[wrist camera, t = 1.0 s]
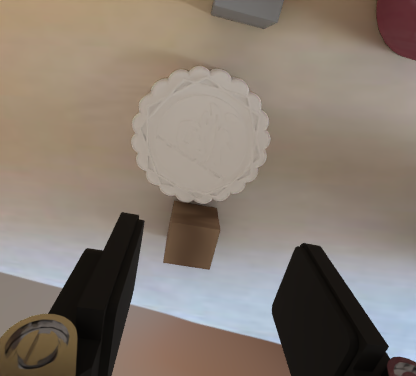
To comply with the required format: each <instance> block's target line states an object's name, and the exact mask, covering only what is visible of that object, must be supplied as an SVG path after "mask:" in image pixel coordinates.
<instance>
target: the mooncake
mask: <svg viewBox="0 0 416 376" xmlns="http://www.w3.org/2000/svg"><path fill="white" fill-rule="evenodd" d="M261 107H262V103H261V99H260V97H259V96H258V95H257V94H255V93H253V92H251V91H249V88H248V85H247V83H246V82H245V81H244V80H242V79H240V78H237V77H231V76H230V74H229V73H228V72H227V71H225V70H223V69H219V68H215V69H212V70H210V71H209V70H208V69H207V68H206V67H204V66H195V67H193V68H192V69H191V70H190V71H187V70H185V69H178V70H176V71H174V72H173V73H171V75H170V76H169V78H163V79H160V80H159V81H157V82H155V83H154V85H153V86H152V88H151V92H150V93H148V94H147V95H145V96H144V97H143V98H142V99H141V100H140V102H139V113H137V114H136V115H135V116H134V118H133V120H132V128H133V130H134V132H135V134H134V135H133V137H132V139H131V145H132V148H133V149H134V150H135V151H136V152H137V153H138V154H137V156H136V162H137V165H138V166H139V168H141V169H142V170H144V171H146V178H147V180H148V181H149V182H150V183H151V184H153V185H157V186H159V188H160V190H161V192H162V193H163V194H165V195H167V196H175V195H176V197H177V199H178V200H180V201H182V202H191V201H193V200H194V201H195V202H197V203H199V204H207V203H209V202H210V201H211V200H212V199H213V200H215V201H223V200H225V199H227V198H228V197H229V195H230V194H237V193H240V192H241V191H242V190H243V189H244V188H245V185H246V183H248V182H251V181H253V180H254V179H255V178H256V177H257V175H258V167H261V166H262V165H263V164H264V163H265V161H266V159H267V154H266V151H265V149H266V148H267V147H268V146H269V144H270V141H271V137H270V134H269V132H268V131H267V130H266V129H267V127H268V125H269V118H268V115H267V114H266V113H265V112H264V111H263V110H261Z"/></svg>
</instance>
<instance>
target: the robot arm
mask: <svg viewBox="0 0 416 376" xmlns="http://www.w3.org/2000/svg"><path fill="white" fill-rule="evenodd" d="M144 222H145V221H144V220H139V215H135V214H129V213H124V212H122V213H121V215H120V217H119V219H118V221H117V223H116V225H115V227H114V229H113V231H112V234H111V236H110V238H109V240H108V242H107V244H106V246H105V248H104V250H103V251H102V250H96V249H89V248H87V249H85V251H84V252H83V254H82V256H81V257H80V259H79V261H78V263H77V264H76V266H75V268H74V270H73V271H72V273H71V275H70V277H69V278H68V280H67V282H66V284H65V285H64V287H63V289H62V291H61V292H60V294H59V296H58V298H57V299H56V301H55V303H54V305H53V306H52V308H51V310H50V312H49V313H48V314H40V315H35V316H31V317H29V318H26V319H24V320H21V321H20V322H18V323H16V324H15V325H13V326H12V327H10V328H9V329H8V330H7V331H6V332H5V333H4V334H3V336H2V337H1V338H0V376H111V375H112V372H113V368H114V364H115V360H116V356H117V352H118V349H119V345H120V341H121V337H122V333H123V329H124V326H125V322H126V318H127V314H128V310H129V306H130V303H131V299H132V295H133V290H134V285H135V279H136V273H137V266H138V260H139V254H140V248H141V241H142V235H143V229H144ZM272 315H273V319H274V322H275V325H276V328H277V331H278V335H279V338H280V341H281V344H282V348H283V351H284V354H285V357H286V360H287V364H288V367H289V370H290V374H291V376H416V362H414V361H412V360H410V359H407V358H403V357H393V358H391V359H390V358H389V356H388V355H387V353H386V350H387V349H388V347H389V346H388V345H387V343H386V342H385V340H384V339H383V337H382V336H381V334H380V333H379V332H378V330H377V329H376V327H375V326H374V324H373V323H372V321H371V320H370V318H369V317H368V315H367V314H366V312H365V311H364V309H363V308H362V307H361V305H360V304H359V302H358V301H357V299H356V298H355V296H354V295H353V293H352V292H351V290H350V289H349V287H348V286H347V285H346V283H345V282H344V280H343V279H342V277H341V276H340V274H339V273H338V271H337V270H336V268H335V267H334V265H333V264H332V262H331V261H330V260H329V258H328V257H327V255H326V254H325V252H324V251H323V249H322V248H321V247H320V246H318V245H312V244H306V243H303V244H301V245H300V247H299V246H297V247H296V248H295V250H294V252H293V254H292V257H291V259H290V262H289V264H288V267H287V269H286V272H285V274H284V277H283V279H282V282H281V284H280V287H279V289H278V292H277V294H276V297H275V300H274V302H273V305H272Z"/></svg>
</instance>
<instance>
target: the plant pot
mask: <svg viewBox="0 0 416 376" xmlns="http://www.w3.org/2000/svg"><path fill="white" fill-rule="evenodd" d="M376 15H377V23H378V28H379V31H380V34H381V36H382V38H383V40H384V41H385V43H386V44H387V45H388V46H389V48H391V49H392V50H393V51H394V52H395V53H397V54H398V55H401V56H403V57H406V58H409V59H412V60H415V61H416V0H377V9H376Z"/></svg>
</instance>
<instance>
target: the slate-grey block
mask: <svg viewBox="0 0 416 376" xmlns="http://www.w3.org/2000/svg"><path fill="white" fill-rule="evenodd" d="M283 1H284V0H214V1H213V6H212V11H211V15H213V16H217V17H221V18H224V19H228V20H232V21H236V22H240V23H243V24H247V25H251V26H255V27H259V28H262V29H264V28H267V27H269V26H271V25H273V24H275V23H278V20H279V16H280V12H281V9H282V5H283Z"/></svg>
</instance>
